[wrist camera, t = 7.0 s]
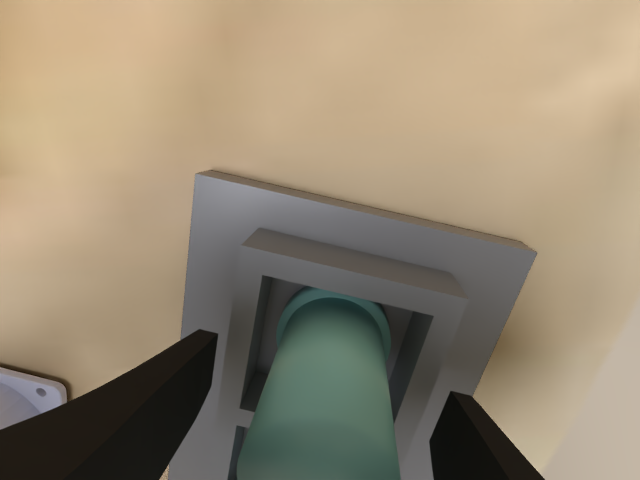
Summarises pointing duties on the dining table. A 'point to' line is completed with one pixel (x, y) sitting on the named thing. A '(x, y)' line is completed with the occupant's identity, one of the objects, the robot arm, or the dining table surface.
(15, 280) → the dining table surface
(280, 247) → the housing
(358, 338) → the pin
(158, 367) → the robot arm
